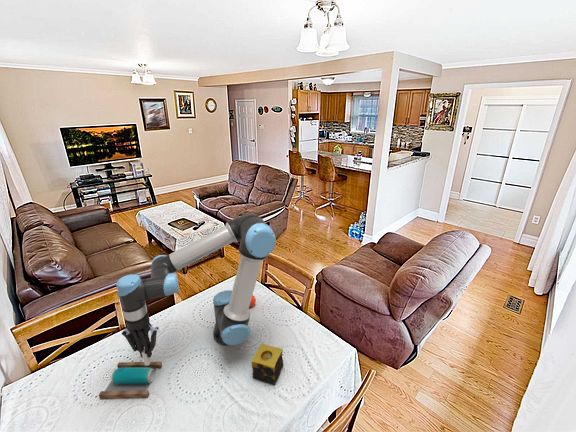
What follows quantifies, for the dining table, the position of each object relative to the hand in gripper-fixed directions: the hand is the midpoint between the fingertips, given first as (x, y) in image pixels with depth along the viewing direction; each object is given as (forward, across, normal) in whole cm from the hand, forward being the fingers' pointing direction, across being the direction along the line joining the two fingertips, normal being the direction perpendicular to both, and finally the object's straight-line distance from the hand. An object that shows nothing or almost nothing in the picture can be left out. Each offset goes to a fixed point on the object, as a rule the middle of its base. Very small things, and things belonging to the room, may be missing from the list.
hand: (148, 362), depth 111 cm
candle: (+11, -47, -3) cm, 48 cm away
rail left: (+10, +8, +6) cm, 15 cm away
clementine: (+11, -35, -45) cm, 58 cm away
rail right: (+10, +8, -6) cm, 15 cm away
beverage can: (+7, 0, 0) cm, 7 cm away
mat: (+10, +9, 0) cm, 14 cm away
